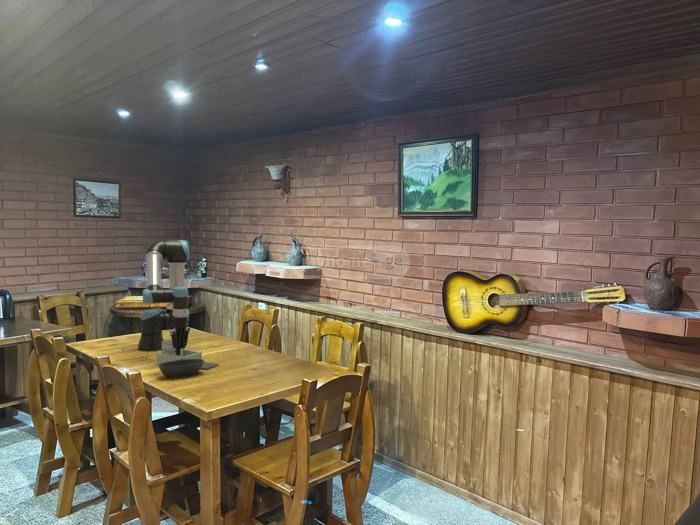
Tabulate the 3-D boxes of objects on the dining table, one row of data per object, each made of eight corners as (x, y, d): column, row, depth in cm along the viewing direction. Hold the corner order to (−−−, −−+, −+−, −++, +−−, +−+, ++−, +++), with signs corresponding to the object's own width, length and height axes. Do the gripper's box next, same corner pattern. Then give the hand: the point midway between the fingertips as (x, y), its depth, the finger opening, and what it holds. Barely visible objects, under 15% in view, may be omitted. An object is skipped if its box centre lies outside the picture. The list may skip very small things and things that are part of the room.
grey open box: (156, 365, 259) (156, 353, 259) (176, 359, 273) (176, 348, 272) (181, 369, 253) (182, 357, 252) (201, 363, 266) (201, 352, 266)
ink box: (180, 362, 267) (181, 340, 266) (176, 364, 262) (176, 342, 261) (166, 360, 268) (166, 339, 268) (161, 363, 263) (161, 341, 263)
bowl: (154, 375, 241) (154, 363, 241) (199, 369, 254) (199, 357, 254) (162, 382, 231) (162, 368, 231) (208, 375, 245) (208, 362, 244)
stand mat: (190, 367, 257) (190, 365, 257) (203, 363, 266) (203, 361, 266) (206, 370, 253) (206, 368, 253) (218, 365, 262) (218, 364, 262)
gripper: (176, 318, 254) (176, 364, 255) (194, 315, 266) (194, 358, 267) (165, 317, 257) (165, 362, 258) (183, 314, 269) (183, 357, 270)
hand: (179, 360), depth 262 cm, fingers closed
